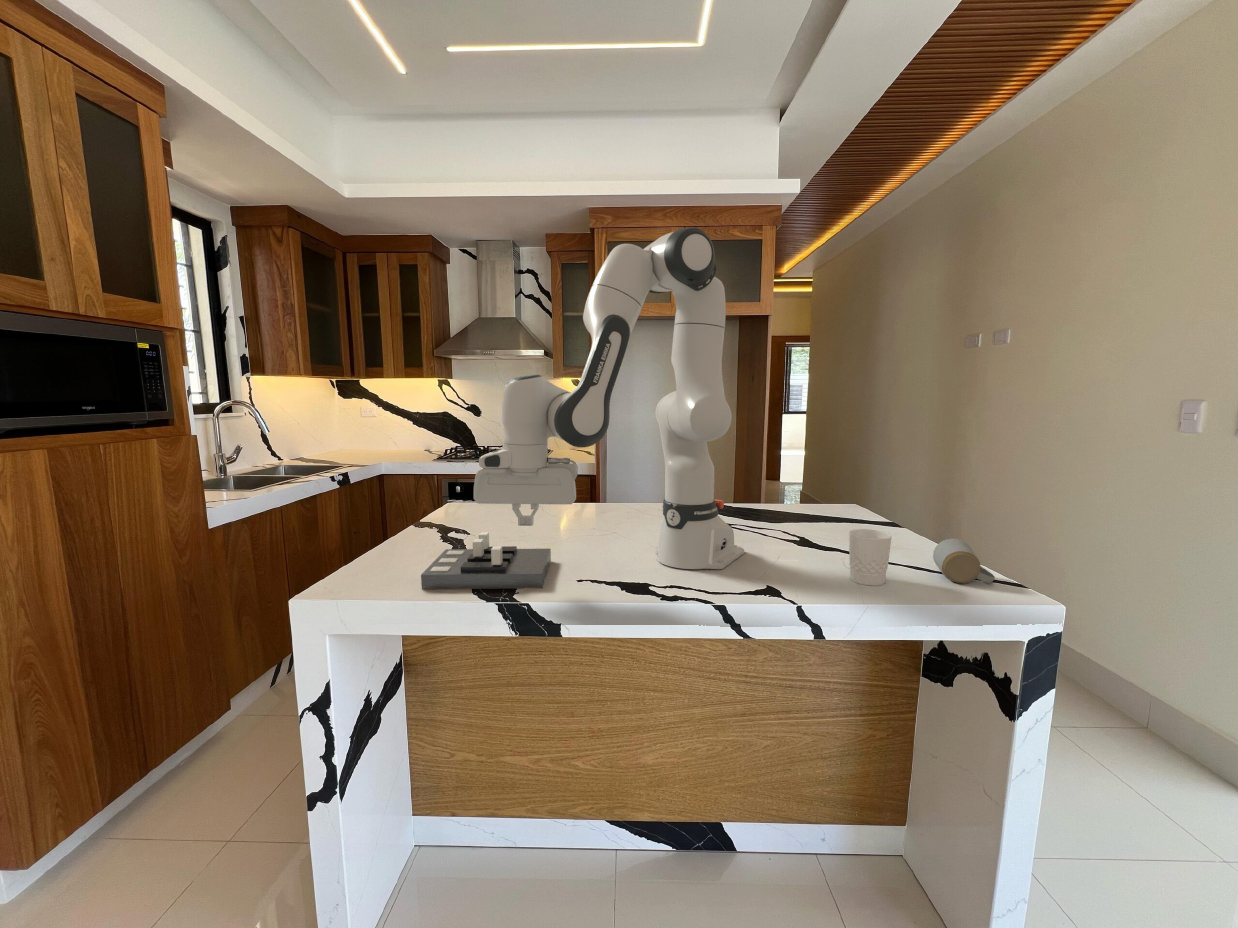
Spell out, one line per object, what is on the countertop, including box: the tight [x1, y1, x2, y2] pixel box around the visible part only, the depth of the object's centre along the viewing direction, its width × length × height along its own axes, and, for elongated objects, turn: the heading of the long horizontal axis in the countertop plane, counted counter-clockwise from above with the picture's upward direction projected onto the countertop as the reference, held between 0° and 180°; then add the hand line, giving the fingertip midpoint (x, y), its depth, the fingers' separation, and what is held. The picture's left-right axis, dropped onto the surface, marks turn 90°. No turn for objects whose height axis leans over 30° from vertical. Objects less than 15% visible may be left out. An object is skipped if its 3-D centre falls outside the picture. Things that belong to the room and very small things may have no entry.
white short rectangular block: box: [478, 531, 490, 549], centre depth 123 cm, size 2×2×3 cm
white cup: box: [848, 528, 893, 587], centre depth 114 cm, size 8×8×10 cm
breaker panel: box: [420, 545, 552, 590], centre depth 119 cm, size 24×17×4 cm
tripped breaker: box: [491, 545, 503, 565], centre depth 113 cm, size 2×2×3 cm
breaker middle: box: [472, 538, 484, 557], centre depth 118 cm, size 2×2×3 cm
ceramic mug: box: [932, 538, 996, 584], centre depth 115 cm, size 11×8×8 cm
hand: (525, 525), depth 112 cm, fingers closed
